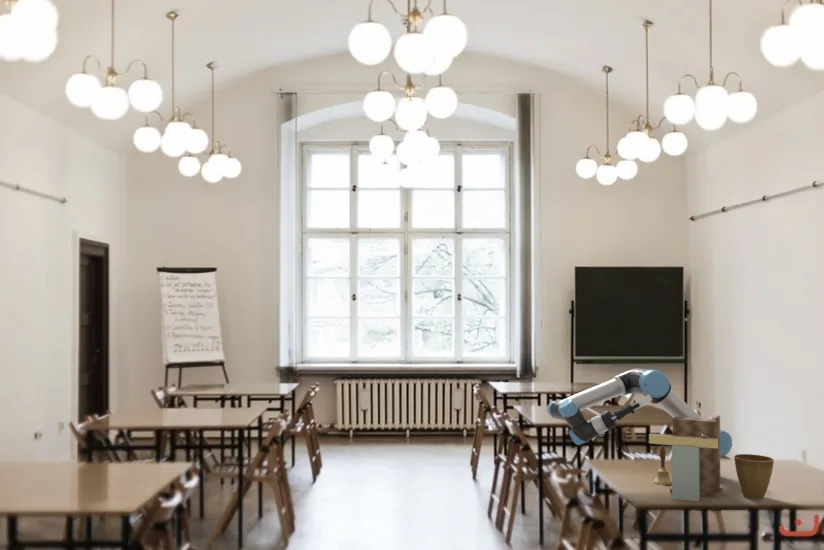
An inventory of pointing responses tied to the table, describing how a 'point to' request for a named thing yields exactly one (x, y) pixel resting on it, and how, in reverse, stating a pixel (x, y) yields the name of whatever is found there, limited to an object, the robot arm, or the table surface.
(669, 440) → the brass bar
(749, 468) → the plant pot
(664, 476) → the hand bell
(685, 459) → the grey block
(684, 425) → the walnut stand
